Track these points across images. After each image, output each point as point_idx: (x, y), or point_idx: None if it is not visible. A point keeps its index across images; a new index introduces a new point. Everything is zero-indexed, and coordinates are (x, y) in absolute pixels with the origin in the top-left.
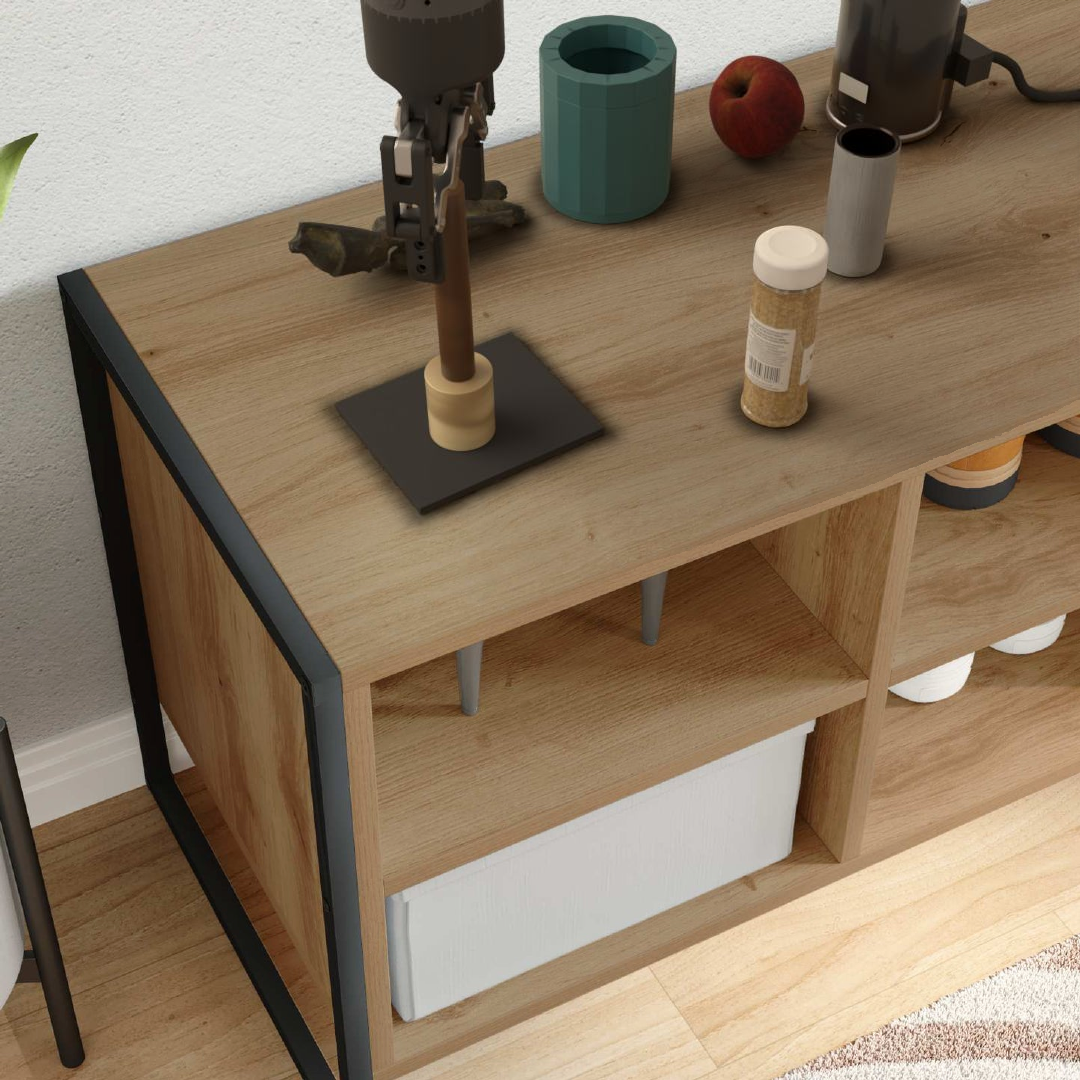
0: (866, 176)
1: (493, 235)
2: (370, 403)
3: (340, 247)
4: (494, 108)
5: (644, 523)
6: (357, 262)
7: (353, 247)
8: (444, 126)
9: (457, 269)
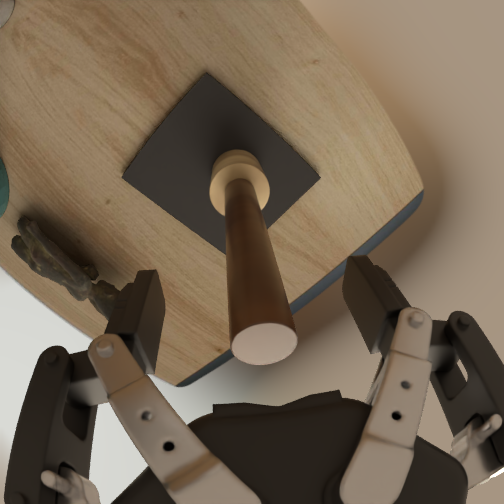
0: None
1: (41, 228)
2: None
3: None
4: (51, 352)
5: (294, 29)
6: None
7: None
8: (426, 480)
9: (269, 244)
